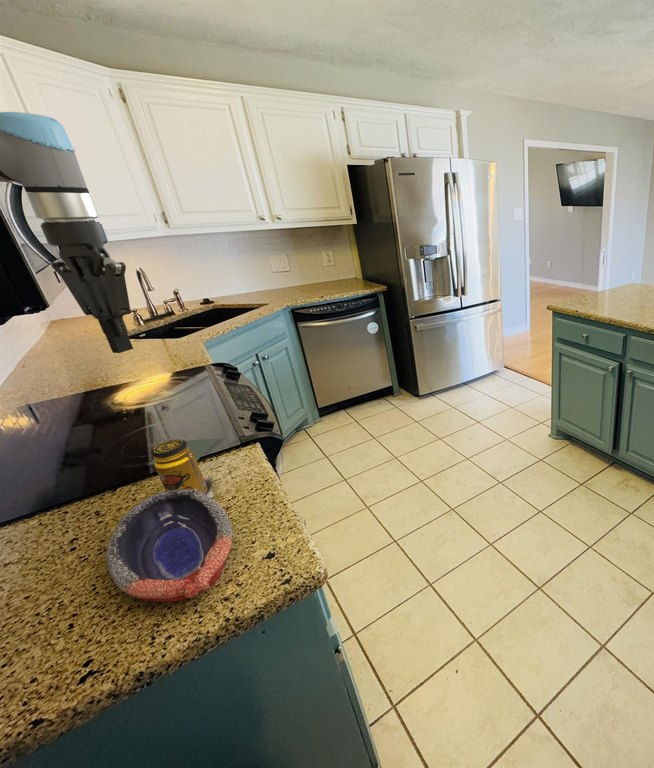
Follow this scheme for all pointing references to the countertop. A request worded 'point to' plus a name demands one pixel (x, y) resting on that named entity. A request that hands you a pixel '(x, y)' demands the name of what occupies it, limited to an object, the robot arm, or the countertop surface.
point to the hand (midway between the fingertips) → (123, 350)
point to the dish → (170, 546)
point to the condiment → (180, 468)
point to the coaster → (196, 448)
